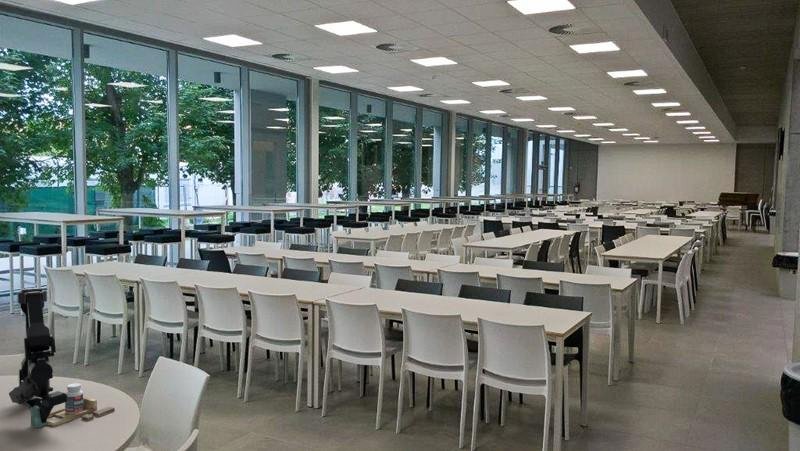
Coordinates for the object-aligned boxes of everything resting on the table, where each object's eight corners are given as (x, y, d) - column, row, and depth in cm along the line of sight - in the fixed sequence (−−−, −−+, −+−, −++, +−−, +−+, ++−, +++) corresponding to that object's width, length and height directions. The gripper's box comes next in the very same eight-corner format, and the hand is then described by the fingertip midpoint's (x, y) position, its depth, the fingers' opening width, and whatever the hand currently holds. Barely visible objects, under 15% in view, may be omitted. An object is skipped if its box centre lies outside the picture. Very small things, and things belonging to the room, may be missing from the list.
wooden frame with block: (24, 424, 197) (24, 405, 196) (78, 405, 214) (78, 388, 213) (43, 430, 193) (43, 410, 192) (97, 410, 210) (96, 392, 209)
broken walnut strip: (81, 419, 202) (81, 416, 202) (108, 409, 211) (108, 406, 211) (88, 420, 201) (88, 417, 201) (114, 410, 210) (114, 408, 210)
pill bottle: (75, 415, 204) (74, 388, 204) (61, 413, 205) (61, 386, 205) (86, 409, 209) (86, 383, 209) (73, 407, 210) (72, 381, 210)
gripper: (-7, 375, 192) (-5, 425, 193) (33, 385, 184) (34, 437, 185) (29, 365, 202) (30, 413, 203) (68, 374, 194) (69, 424, 195)
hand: (40, 421), depth 197 cm, fingers closed on wooden frame with block, 3 cm apart
